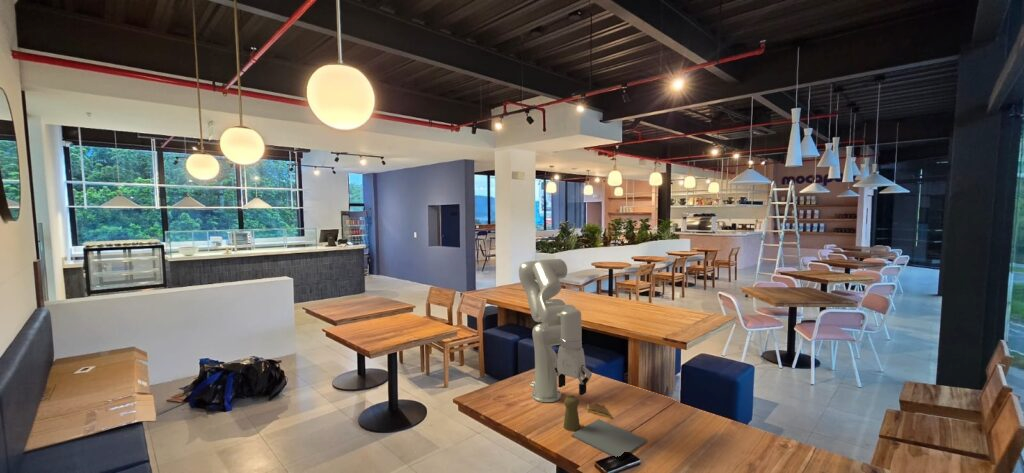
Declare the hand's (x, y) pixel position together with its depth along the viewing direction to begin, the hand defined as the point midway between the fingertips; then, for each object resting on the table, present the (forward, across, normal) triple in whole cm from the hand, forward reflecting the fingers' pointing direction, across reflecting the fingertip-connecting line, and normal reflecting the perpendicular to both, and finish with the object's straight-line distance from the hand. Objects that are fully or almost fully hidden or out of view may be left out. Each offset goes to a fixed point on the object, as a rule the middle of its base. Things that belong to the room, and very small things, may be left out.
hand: (572, 390), depth 153 cm
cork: (+14, -1, 0) cm, 14 cm away
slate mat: (+14, +13, +3) cm, 20 cm away
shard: (+15, -1, +18) cm, 24 cm away
